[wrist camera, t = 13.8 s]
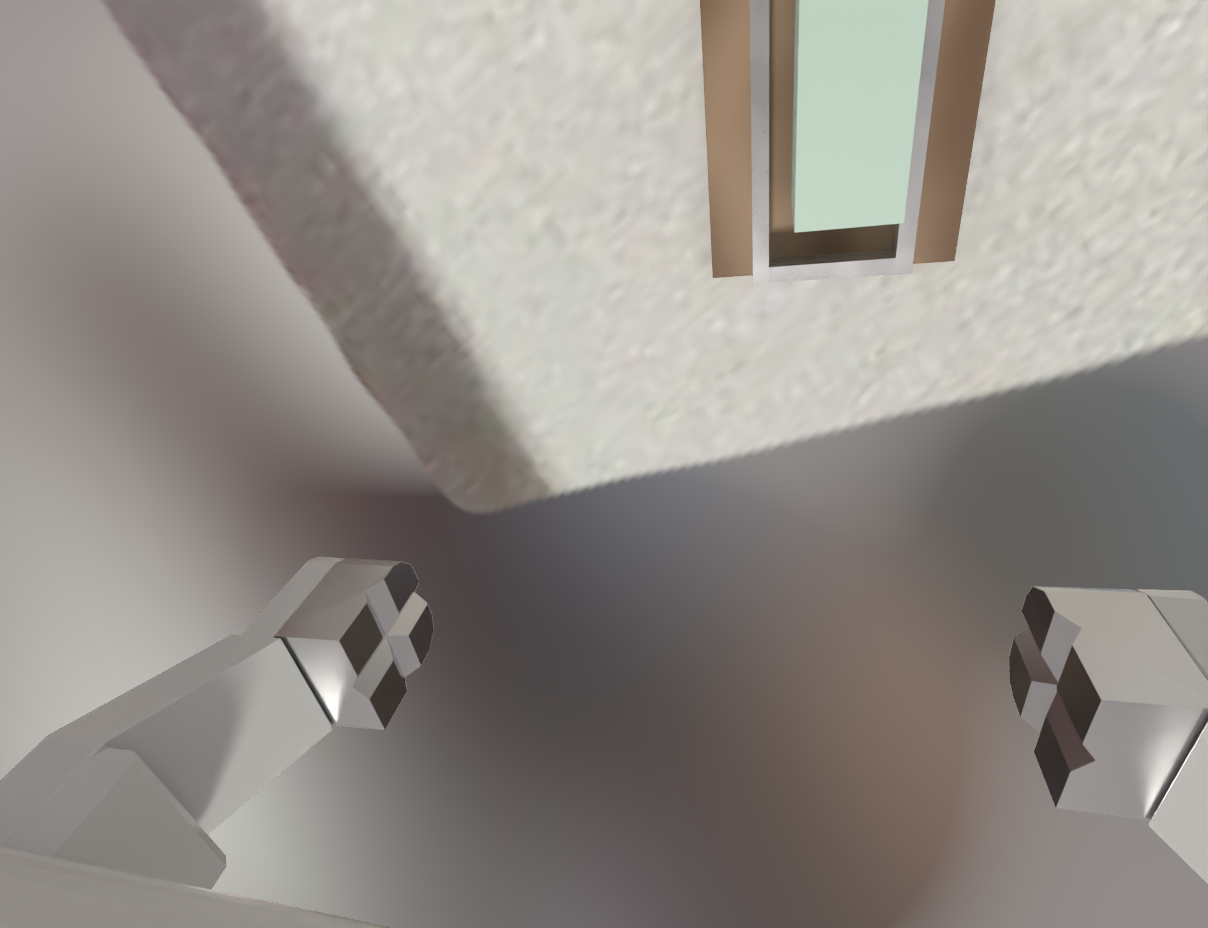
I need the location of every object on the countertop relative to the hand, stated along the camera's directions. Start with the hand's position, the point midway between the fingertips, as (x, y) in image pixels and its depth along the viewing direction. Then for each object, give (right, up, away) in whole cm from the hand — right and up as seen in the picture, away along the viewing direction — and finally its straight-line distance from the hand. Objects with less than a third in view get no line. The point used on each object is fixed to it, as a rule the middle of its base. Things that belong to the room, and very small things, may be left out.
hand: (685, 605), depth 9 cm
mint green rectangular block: (+9, +21, +19) cm, 30 cm away
